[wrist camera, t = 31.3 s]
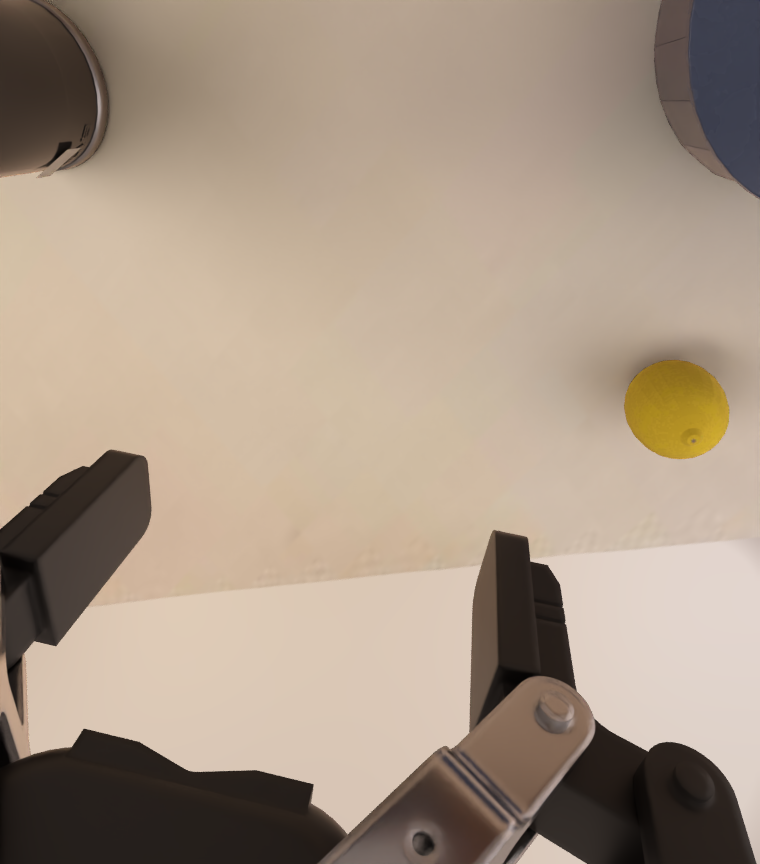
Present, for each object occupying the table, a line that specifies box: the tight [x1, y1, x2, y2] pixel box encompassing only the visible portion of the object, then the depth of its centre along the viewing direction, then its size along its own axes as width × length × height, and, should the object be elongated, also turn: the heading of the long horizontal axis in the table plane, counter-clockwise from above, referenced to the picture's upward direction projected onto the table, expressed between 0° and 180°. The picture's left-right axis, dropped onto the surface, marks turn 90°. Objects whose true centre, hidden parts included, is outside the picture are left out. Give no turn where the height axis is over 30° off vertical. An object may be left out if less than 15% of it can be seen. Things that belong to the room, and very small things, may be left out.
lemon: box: [624, 360, 729, 459], centre depth 36 cm, size 6×6×8 cm
